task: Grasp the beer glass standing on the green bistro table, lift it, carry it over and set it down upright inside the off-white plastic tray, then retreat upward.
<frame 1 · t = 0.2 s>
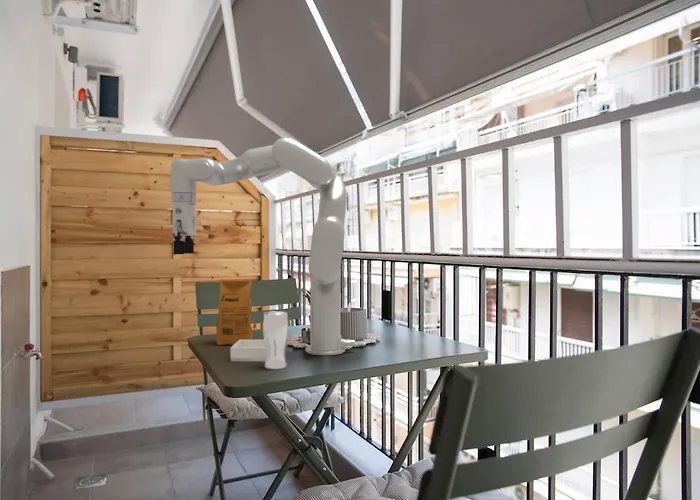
hand: (184, 253, 155), 31 cm above the table, fingers open, 9 cm apart
tray: (255, 356, 149), on the table
coffee package: (234, 343, 170), on the table
beer glass: (275, 367, 137), on the table
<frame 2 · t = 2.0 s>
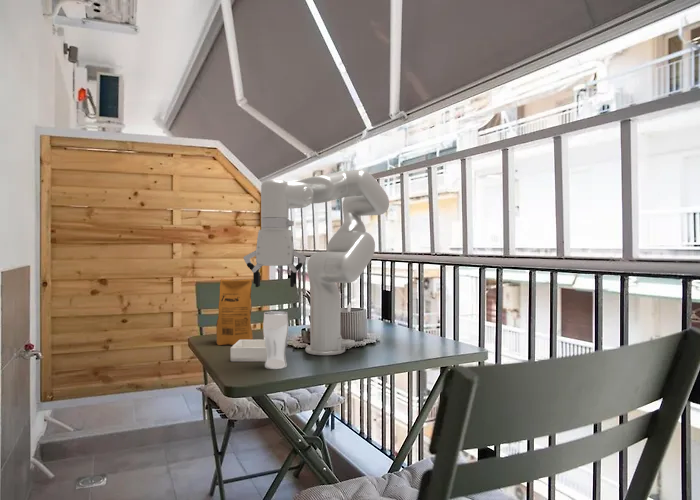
hand: (275, 286, 137), 22 cm above the table, fingers open, 9 cm apart
nothing on the table moved.
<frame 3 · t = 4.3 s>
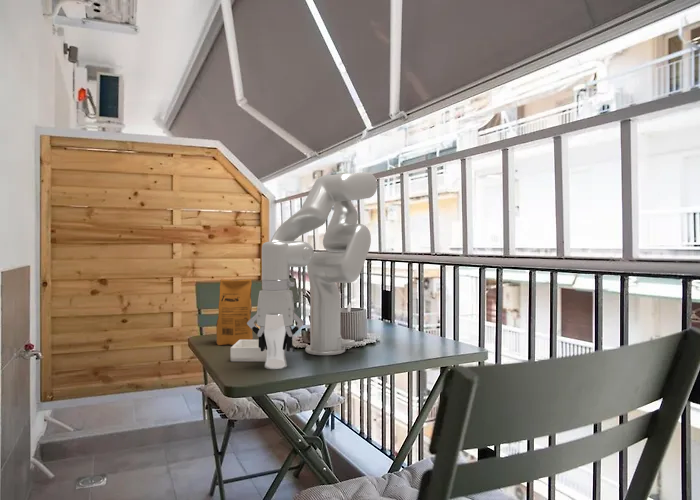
hand: (275, 349, 137), 5 cm above the table, fingers closed on beer glass, 6 cm apart
beer glass: (275, 367, 137), on the table, touching gripper
everything else where it was.
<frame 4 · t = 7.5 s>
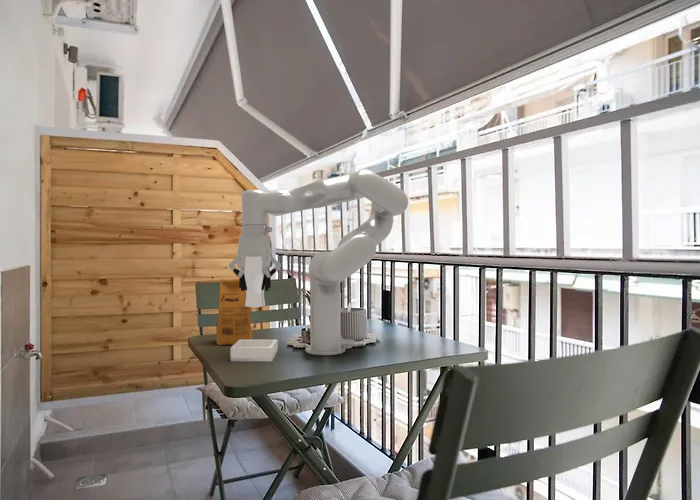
hand: (255, 290, 149), 20 cm above the table, fingers closed on beer glass, 6 cm apart
beer glass: (255, 306, 149), point 15 cm above the table, touching gripper
everything else where it was.
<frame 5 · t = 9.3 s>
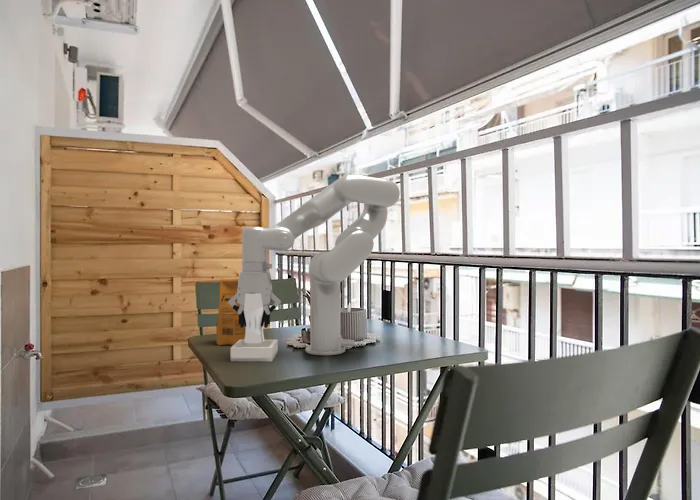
hand: (254, 326, 149), 9 cm above the table, fingers closed on beer glass, 6 cm apart
beer glass: (254, 342, 149), point 4 cm above the table, touching gripper
everything else where it was.
when the fingers open (7 cm above the table, at t = 10.8 s): beer glass drops 1 cm, resting on tray.
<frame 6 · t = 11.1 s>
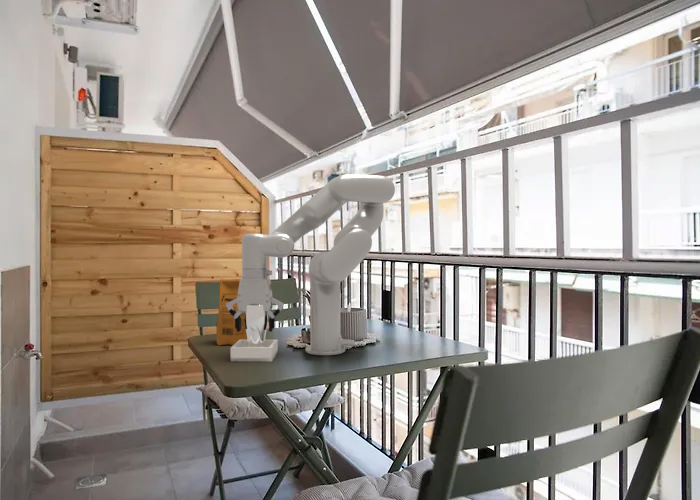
hand: (255, 331, 149), 8 cm above the table, fingers open, 9 cm apart
beer glass: (256, 354, 149), point 1 cm above the table, touching tray
everything else where it was.
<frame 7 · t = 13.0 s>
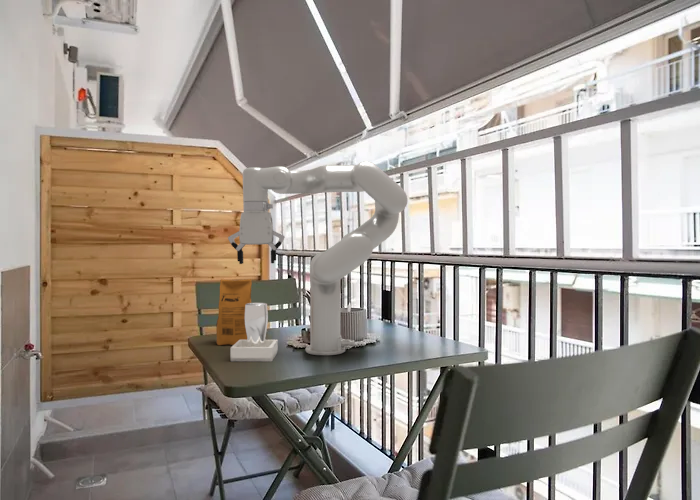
hand: (257, 263, 153), 28 cm above the table, fingers open, 9 cm apart
nothing on the table moved.
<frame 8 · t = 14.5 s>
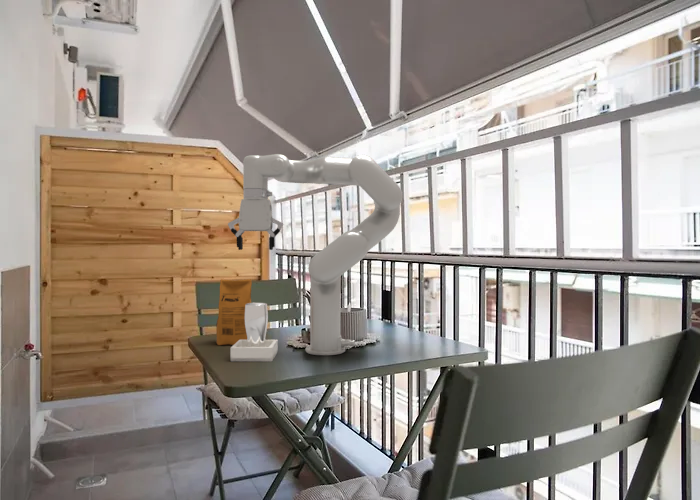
hand: (255, 249, 156), 32 cm above the table, fingers open, 9 cm apart
nothing on the table moved.
at the end: beer glass 0.4 cm off-centre on the tray, point 0.8 cm above the tray's base; beer glass tilted 0°; the gripper is holding nothing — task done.
